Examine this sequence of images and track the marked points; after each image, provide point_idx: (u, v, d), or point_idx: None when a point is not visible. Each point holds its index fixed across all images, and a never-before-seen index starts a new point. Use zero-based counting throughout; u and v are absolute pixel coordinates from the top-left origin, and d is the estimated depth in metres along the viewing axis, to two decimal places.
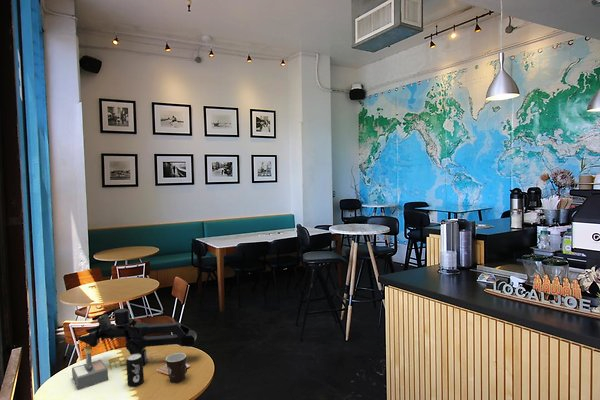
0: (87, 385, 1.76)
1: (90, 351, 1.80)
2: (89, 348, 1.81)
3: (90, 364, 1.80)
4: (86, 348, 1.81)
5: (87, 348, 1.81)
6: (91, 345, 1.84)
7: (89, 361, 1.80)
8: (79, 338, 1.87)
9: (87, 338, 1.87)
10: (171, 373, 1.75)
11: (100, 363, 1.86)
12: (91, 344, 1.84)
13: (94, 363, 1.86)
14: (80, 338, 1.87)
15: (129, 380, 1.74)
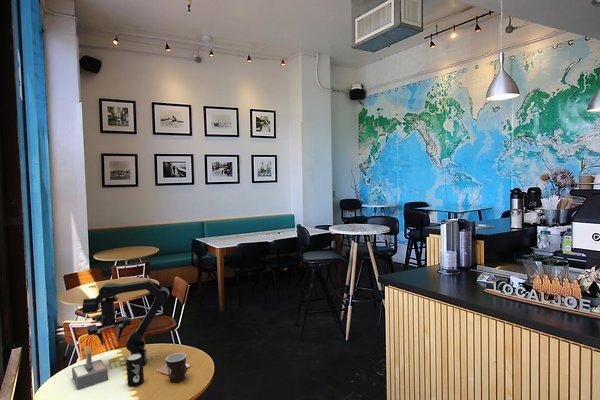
0: (87, 385, 1.76)
1: (90, 351, 1.80)
2: (89, 348, 1.81)
3: (90, 364, 1.80)
4: (86, 348, 1.81)
5: (87, 348, 1.81)
6: (88, 333, 1.84)
7: (89, 361, 1.80)
8: (101, 343, 1.89)
9: None
10: (171, 373, 1.75)
11: (100, 363, 1.86)
12: (87, 333, 1.84)
13: (94, 363, 1.86)
14: None
15: (129, 380, 1.74)
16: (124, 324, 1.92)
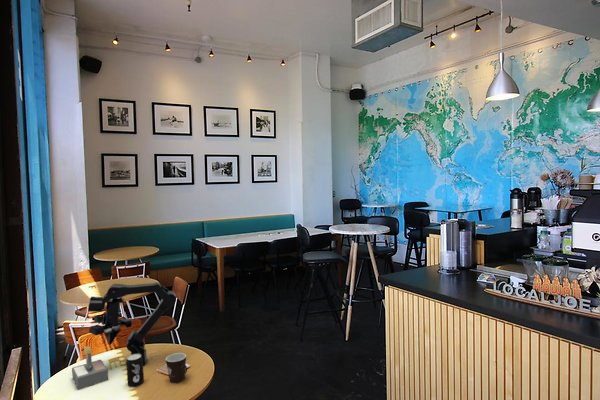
0: (87, 385, 1.76)
1: (90, 351, 1.80)
2: (89, 348, 1.81)
3: (90, 364, 1.80)
4: (86, 348, 1.81)
5: (87, 348, 1.81)
6: (94, 333, 1.82)
7: (89, 361, 1.80)
8: (108, 342, 1.90)
9: (107, 335, 1.90)
10: (171, 373, 1.75)
11: (100, 363, 1.86)
12: (94, 333, 1.82)
13: (94, 363, 1.86)
14: (108, 341, 1.90)
15: (129, 380, 1.74)
16: (126, 325, 1.94)
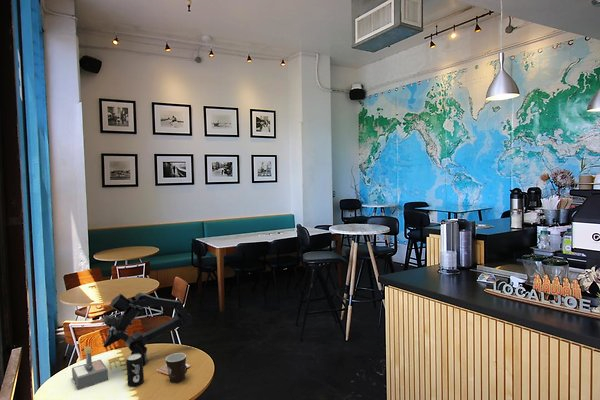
0: (87, 385, 1.76)
1: (90, 351, 1.80)
2: (89, 348, 1.81)
3: (90, 364, 1.80)
4: (86, 348, 1.81)
5: (87, 348, 1.81)
6: (125, 339, 1.82)
7: (89, 361, 1.80)
8: (106, 345, 1.85)
9: (111, 338, 1.86)
10: (171, 373, 1.75)
11: (100, 363, 1.86)
12: (124, 339, 1.82)
13: (94, 363, 1.86)
14: (106, 344, 1.85)
15: (129, 380, 1.74)
16: None
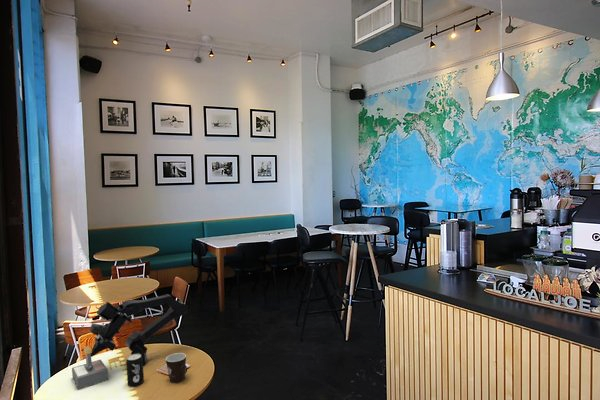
0: (87, 385, 1.76)
1: (90, 351, 1.79)
2: (89, 348, 1.81)
3: (90, 364, 1.80)
4: (86, 348, 1.81)
5: (86, 348, 1.81)
6: (112, 348, 1.79)
7: (89, 361, 1.80)
8: (92, 354, 1.82)
9: (98, 347, 1.83)
10: (171, 373, 1.75)
11: (100, 363, 1.86)
12: (111, 348, 1.79)
13: (94, 363, 1.86)
14: (92, 353, 1.82)
15: (129, 380, 1.74)
16: None
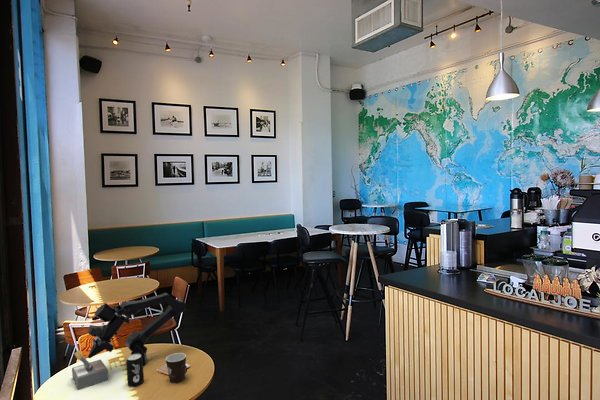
0: (87, 385, 1.76)
1: (80, 356, 1.77)
2: (78, 353, 1.78)
3: (88, 365, 1.80)
4: (76, 354, 1.79)
5: (76, 353, 1.79)
6: (110, 350, 1.78)
7: (85, 363, 1.79)
8: (90, 355, 1.81)
9: (96, 348, 1.82)
10: (171, 373, 1.75)
11: (100, 363, 1.86)
12: (109, 349, 1.78)
13: (94, 363, 1.86)
14: (91, 355, 1.81)
15: (129, 380, 1.74)
16: None
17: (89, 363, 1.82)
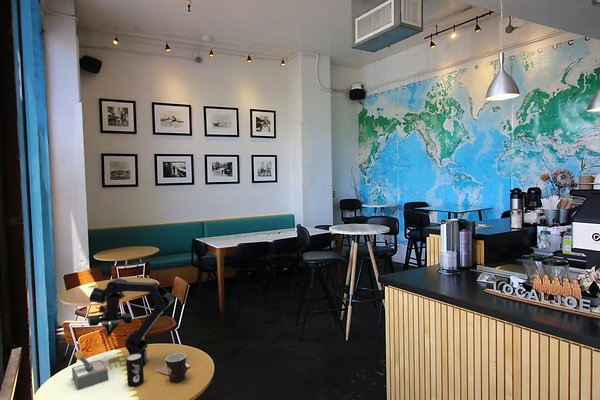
0: (87, 385, 1.76)
1: (80, 356, 1.77)
2: (78, 353, 1.78)
3: (88, 365, 1.80)
4: (76, 354, 1.79)
5: (76, 353, 1.79)
6: (89, 324, 1.88)
7: (85, 363, 1.79)
8: None
9: None
10: (171, 373, 1.75)
11: (100, 363, 1.86)
12: (89, 323, 1.88)
13: (94, 363, 1.86)
14: None
15: (129, 380, 1.74)
16: (125, 321, 1.96)
17: (89, 363, 1.82)
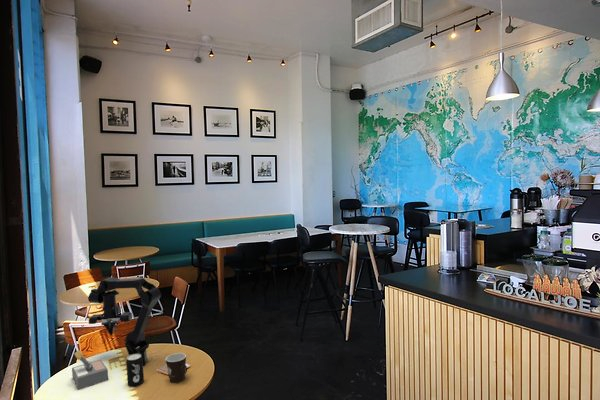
0: (87, 385, 1.76)
1: (80, 356, 1.77)
2: (78, 353, 1.78)
3: (88, 365, 1.80)
4: (76, 354, 1.79)
5: (76, 353, 1.79)
6: None
7: (85, 363, 1.79)
8: None
9: None
10: (171, 373, 1.75)
11: (100, 363, 1.86)
12: None
13: (94, 363, 1.86)
14: None
15: (129, 380, 1.74)
16: (121, 319, 1.96)
17: (89, 363, 1.82)
